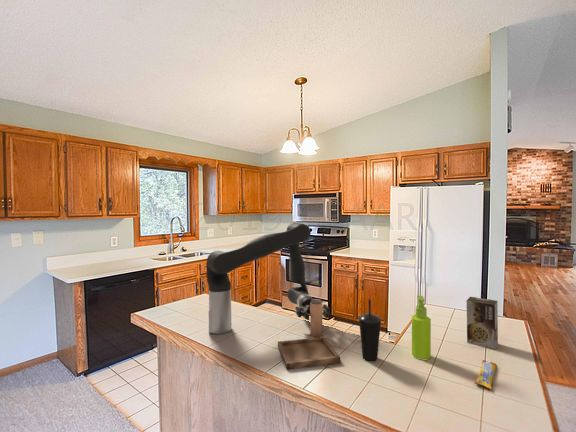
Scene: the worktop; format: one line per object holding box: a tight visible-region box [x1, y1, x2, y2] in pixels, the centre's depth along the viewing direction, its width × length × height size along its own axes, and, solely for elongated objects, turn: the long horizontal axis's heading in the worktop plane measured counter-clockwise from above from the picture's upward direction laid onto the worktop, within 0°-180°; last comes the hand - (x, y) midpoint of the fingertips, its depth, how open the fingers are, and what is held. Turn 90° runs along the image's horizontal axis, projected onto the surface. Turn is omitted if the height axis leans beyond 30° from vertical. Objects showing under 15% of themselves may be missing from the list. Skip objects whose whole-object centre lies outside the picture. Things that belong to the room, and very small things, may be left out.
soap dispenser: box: [411, 295, 432, 360], centre depth 100 cm, size 6×7×20 cm
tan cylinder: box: [309, 298, 323, 338], centre depth 118 cm, size 5×5×14 cm
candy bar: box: [473, 359, 498, 390], centre depth 88 cm, size 17×4×2 cm, turn 139°
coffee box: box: [465, 296, 499, 350], centre depth 109 cm, size 9×6×16 cm
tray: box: [277, 336, 341, 371], centre depth 102 cm, size 18×16×2 cm
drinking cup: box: [357, 298, 382, 362], centre depth 99 cm, size 8×8×20 cm
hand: (317, 316), depth 116 cm, fingers open, 7 cm apart
